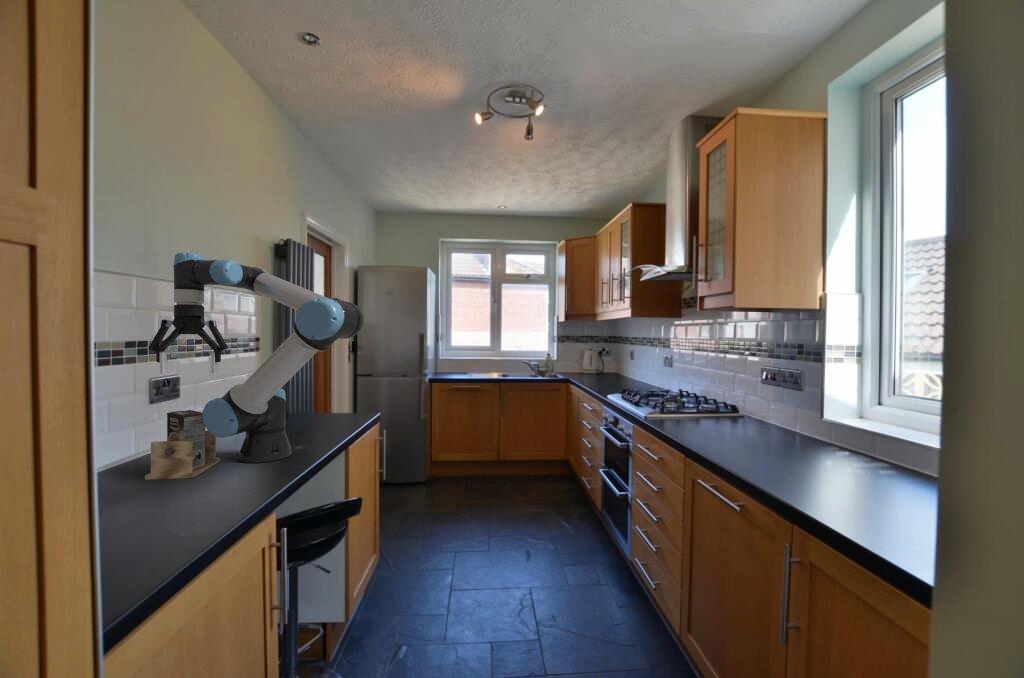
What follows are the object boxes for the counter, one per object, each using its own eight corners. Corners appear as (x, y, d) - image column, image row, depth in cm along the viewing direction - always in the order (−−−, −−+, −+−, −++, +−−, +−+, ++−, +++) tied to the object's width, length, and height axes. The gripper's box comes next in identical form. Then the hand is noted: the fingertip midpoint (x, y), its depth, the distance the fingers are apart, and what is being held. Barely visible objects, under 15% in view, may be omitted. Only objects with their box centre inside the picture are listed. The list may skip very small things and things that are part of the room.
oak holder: (220, 461, 139) (220, 429, 139) (191, 478, 123) (192, 442, 123) (179, 462, 137) (179, 430, 137) (144, 479, 121) (144, 443, 121)
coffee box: (165, 466, 130) (165, 412, 129) (189, 460, 135) (190, 409, 135) (181, 471, 125) (182, 415, 125) (206, 465, 131) (206, 412, 131)
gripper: (239, 306, 140) (239, 371, 141) (148, 304, 134) (148, 372, 134) (230, 304, 133) (230, 373, 133) (134, 302, 127) (134, 374, 127)
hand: (189, 373), depth 134 cm, fingers open, 13 cm apart
